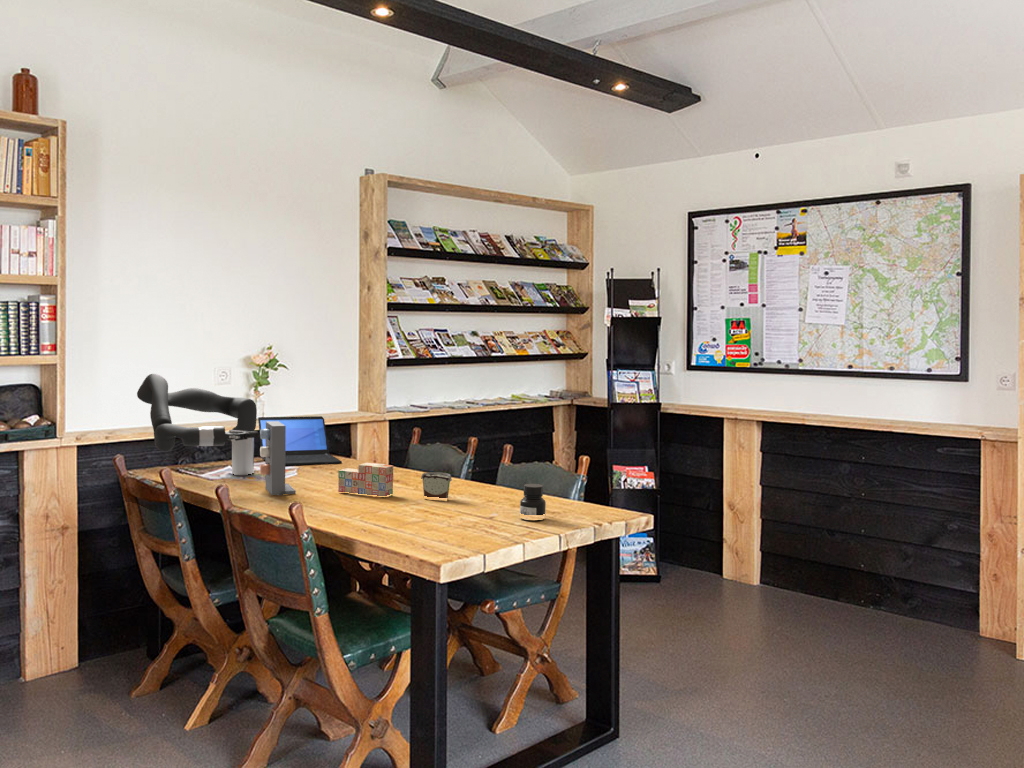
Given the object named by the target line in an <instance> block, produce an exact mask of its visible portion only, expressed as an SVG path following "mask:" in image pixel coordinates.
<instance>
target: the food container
mask: <svg viewBox="0 0 1024 768" xmlns="http://www.w3.org/2000/svg"><path fill="white" fill-rule="evenodd" d="M420 479H421V480H422V488H423V489H422V490H423V497H424V496H427V497H439V498H448V499H449V494H450V493H449V490H450V484H451V483H450V482H452V481H453V480H452V475H451V474H450V473H447V472H440V471H439V472H437V471H434V472H424V473H422V474H421V477H420Z"/></svg>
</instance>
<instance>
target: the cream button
mask: <svg viewBox="0 0 1024 768" xmlns="http://www.w3.org/2000/svg"><path fill="white" fill-rule="evenodd" d="M259 455H260V457H261V458H263V457H270V447H261V446H260V448H259Z"/></svg>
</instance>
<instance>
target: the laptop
mask: <svg viewBox="0 0 1024 768" xmlns="http://www.w3.org/2000/svg"><path fill="white" fill-rule="evenodd" d="M257 419H258V430H259V431H258V433H260V430H261V429H266V421H279V422H280V423H282V424H284V425H285V426H286V442H285V465H296V466H314V465H315V466H316V465H318V466H319V465H337V464H339V465H340V464H342V460H340V459H338V458H336V457H335V456H333V454H330V450H329V444H328V436H327V428H326V424H325V422H326V421H325V419H324V417H323V416H318V415H317V416H264V417H261V416H258V417H257ZM259 440H260V447H266V439H261V438H260V437H259ZM262 459H263V460H264V461H265V462H266V457H262Z"/></svg>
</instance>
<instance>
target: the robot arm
mask: <svg viewBox="0 0 1024 768" xmlns="http://www.w3.org/2000/svg"><path fill="white" fill-rule="evenodd" d="M136 397H137V399H139V400H140V401H141V402H143V403H146V404H148V405H151V406H150V412H149V413H150V415H149V416H150V422H151V425H152V429H153V440H154V445H155V447H156V449H158V450H159V451H161V452H162V453H163V452H164V453H165V452H166V453H167V452H169V451H171V450H173V449H174V448H175V446H176V438H178V439H181V442H182V445H183V446H185V447H199V446H200V447H219V446H221V447H222V446H225V445H226V440H228V441H229V442H231V474H232V475H233V474H234V475H233V476H249V475H248V474H251V475H253V474H252V473H254V474H255V439H257V438H260V432H259V431H255V430H256V427H257V418H258V417H257V416H258V415H257V411H258V408H257V405H256V403H255V401H254V400H253V399H251V398H247V397H235V396H234V397H232V396H223V395H219V394H217V393H215V392H212V391H210V390H206V389H203V388H197V387H189V388H185V389H182V390H178V391H174V392H169V383H168V380H166V378H165V377H163V376H162V375H160V374H157V373H151V374H148V375H147V376H146V377H145V378H144V380H143V382H142V383H141V384H140V386H139V388H138V389H137V392H136ZM169 407H174V408H181V409H186V410H192V411H195V412H201V413H203V412H204V413H219V414H222V415H226V416H229V417H232V418H235V419H237V423H236V425H235V426H234V427H233V428H232V429H229V431H226V428H225V426H224V425H211V426H210V425H209V426H196V427H187V426H183V425H177V424H174V423H173V421H172V418H171V414H170V413H171V412H170V408H169Z"/></svg>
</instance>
